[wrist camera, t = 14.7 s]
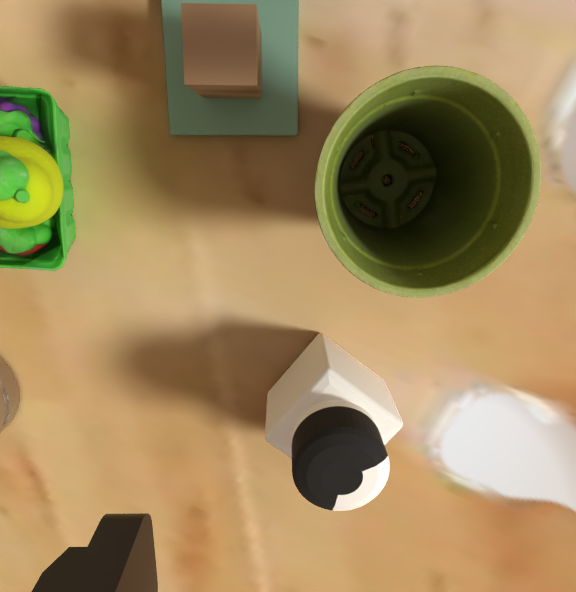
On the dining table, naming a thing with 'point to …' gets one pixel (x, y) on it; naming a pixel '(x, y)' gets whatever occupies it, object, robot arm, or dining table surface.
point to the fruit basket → (34, 181)
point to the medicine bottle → (333, 426)
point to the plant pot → (428, 181)
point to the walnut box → (222, 50)
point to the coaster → (238, 111)
